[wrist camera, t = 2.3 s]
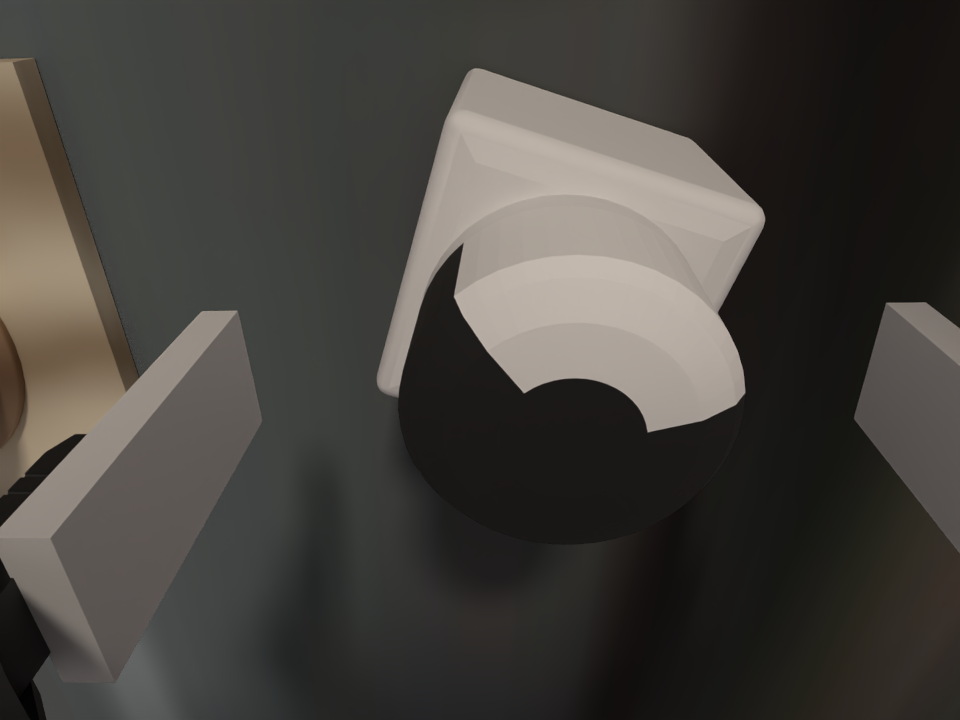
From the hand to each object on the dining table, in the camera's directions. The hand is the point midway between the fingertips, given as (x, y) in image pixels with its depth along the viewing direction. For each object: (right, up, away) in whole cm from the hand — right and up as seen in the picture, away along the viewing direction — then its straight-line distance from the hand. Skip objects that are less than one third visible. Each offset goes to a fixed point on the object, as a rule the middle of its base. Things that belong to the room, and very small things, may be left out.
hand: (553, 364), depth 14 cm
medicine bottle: (+1, +5, +8) cm, 9 cm away
